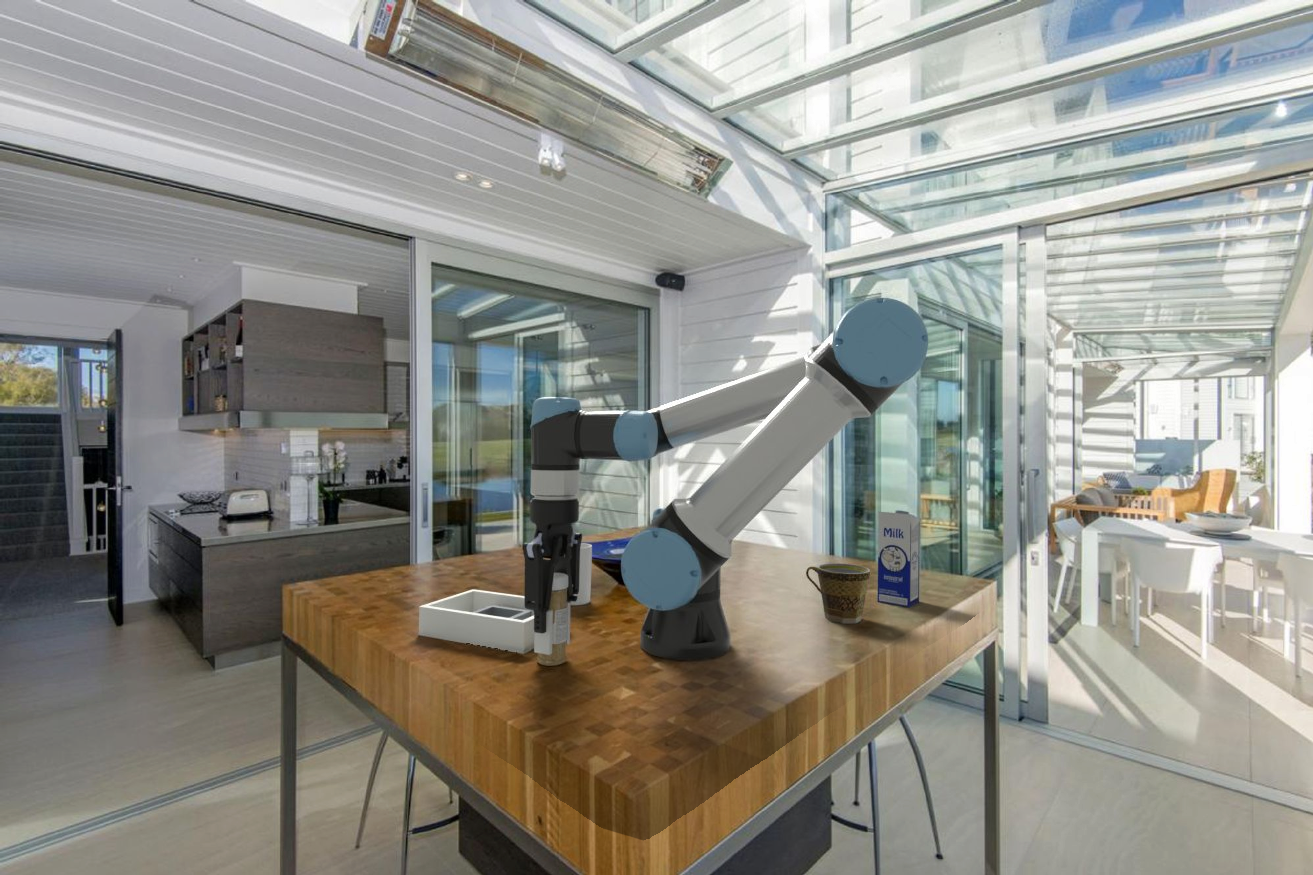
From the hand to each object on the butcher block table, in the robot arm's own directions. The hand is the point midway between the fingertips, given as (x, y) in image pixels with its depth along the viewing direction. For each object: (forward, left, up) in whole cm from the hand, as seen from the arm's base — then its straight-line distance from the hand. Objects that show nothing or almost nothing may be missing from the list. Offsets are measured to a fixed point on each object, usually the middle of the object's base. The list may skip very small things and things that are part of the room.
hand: (552, 647), depth 95 cm
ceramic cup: (-37, -45, -2) cm, 58 cm away
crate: (+17, -8, -2) cm, 19 cm away
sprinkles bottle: (0, 0, -2) cm, 2 cm away
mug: (+16, -34, -2) cm, 38 cm away
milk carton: (-48, -64, -2) cm, 80 cm away
